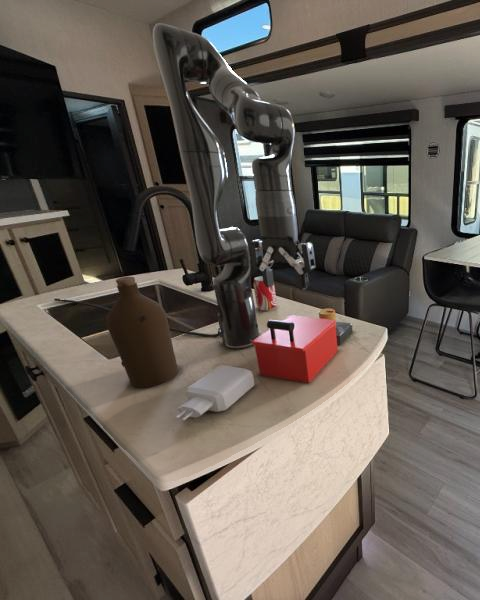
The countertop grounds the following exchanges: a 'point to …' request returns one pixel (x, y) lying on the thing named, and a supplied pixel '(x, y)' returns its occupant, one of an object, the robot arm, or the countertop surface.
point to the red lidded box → (297, 358)
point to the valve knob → (327, 314)
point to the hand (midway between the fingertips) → (286, 287)
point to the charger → (216, 391)
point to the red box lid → (293, 332)
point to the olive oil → (141, 336)
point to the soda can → (264, 295)
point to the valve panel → (343, 331)
